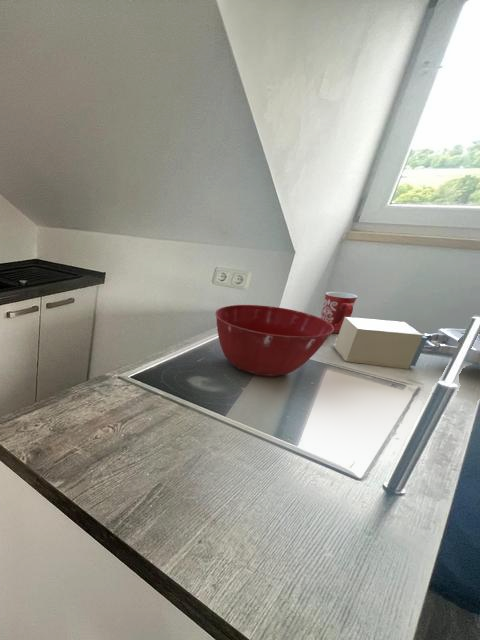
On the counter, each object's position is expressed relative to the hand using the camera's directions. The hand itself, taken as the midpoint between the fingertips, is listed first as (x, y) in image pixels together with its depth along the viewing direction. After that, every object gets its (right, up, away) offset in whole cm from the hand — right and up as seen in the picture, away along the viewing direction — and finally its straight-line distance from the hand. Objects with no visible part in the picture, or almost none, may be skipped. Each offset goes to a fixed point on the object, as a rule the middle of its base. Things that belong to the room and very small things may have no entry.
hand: (430, 342), depth 114 cm
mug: (-4, +5, +29) cm, 30 cm away
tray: (-7, -4, +6) cm, 10 cm away
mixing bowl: (-49, -8, +3) cm, 49 cm away
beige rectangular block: (-11, -4, +8) cm, 14 cm away
